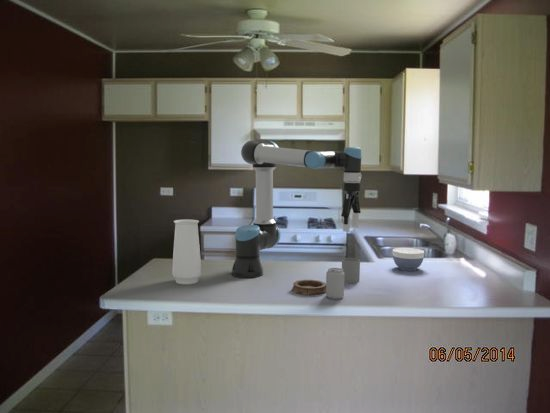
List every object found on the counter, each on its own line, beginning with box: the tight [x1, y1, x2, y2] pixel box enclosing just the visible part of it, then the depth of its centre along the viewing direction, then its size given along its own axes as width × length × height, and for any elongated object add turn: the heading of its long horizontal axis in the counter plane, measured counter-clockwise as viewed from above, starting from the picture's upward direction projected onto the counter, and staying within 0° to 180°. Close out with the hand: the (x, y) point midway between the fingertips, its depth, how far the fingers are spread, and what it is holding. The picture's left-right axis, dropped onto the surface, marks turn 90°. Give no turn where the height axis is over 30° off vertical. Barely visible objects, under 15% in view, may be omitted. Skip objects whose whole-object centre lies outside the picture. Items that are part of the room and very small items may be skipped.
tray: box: [292, 279, 326, 297], centre depth 229 cm, size 15×15×3 cm
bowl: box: [392, 247, 425, 272], centre depth 272 cm, size 16×16×10 cm
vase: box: [172, 218, 202, 285], centre depth 239 cm, size 13×13×28 cm
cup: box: [341, 257, 361, 284], centre depth 246 cm, size 8×8×10 cm
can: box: [325, 267, 345, 300], centre depth 219 cm, size 8×8×12 cm
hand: (350, 229), depth 236 cm, fingers open, 13 cm apart
